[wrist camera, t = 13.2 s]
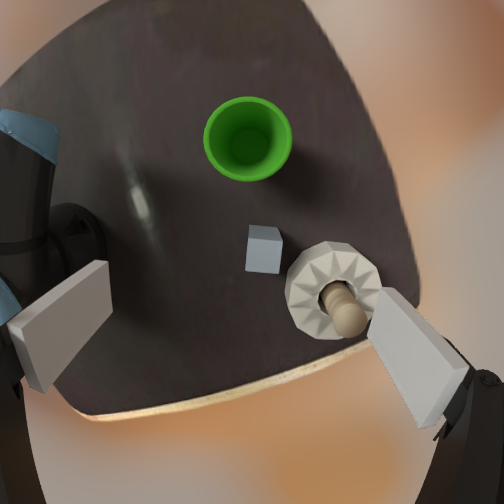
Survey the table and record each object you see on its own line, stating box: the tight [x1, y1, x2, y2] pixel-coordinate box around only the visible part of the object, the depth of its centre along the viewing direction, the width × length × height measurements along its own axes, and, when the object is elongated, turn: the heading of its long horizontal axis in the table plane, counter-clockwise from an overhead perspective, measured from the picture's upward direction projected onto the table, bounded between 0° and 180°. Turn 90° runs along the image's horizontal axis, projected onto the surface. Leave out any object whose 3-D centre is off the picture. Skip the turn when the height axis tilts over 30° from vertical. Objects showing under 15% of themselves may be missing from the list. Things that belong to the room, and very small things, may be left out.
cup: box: [203, 97, 293, 182], centre depth 33 cm, size 9×9×11 cm
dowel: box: [319, 280, 368, 338], centre depth 38 cm, size 4×4×12 cm
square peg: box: [245, 225, 283, 274], centre depth 38 cm, size 4×4×8 cm
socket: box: [285, 241, 382, 340], centre depth 41 cm, size 14×14×5 cm
